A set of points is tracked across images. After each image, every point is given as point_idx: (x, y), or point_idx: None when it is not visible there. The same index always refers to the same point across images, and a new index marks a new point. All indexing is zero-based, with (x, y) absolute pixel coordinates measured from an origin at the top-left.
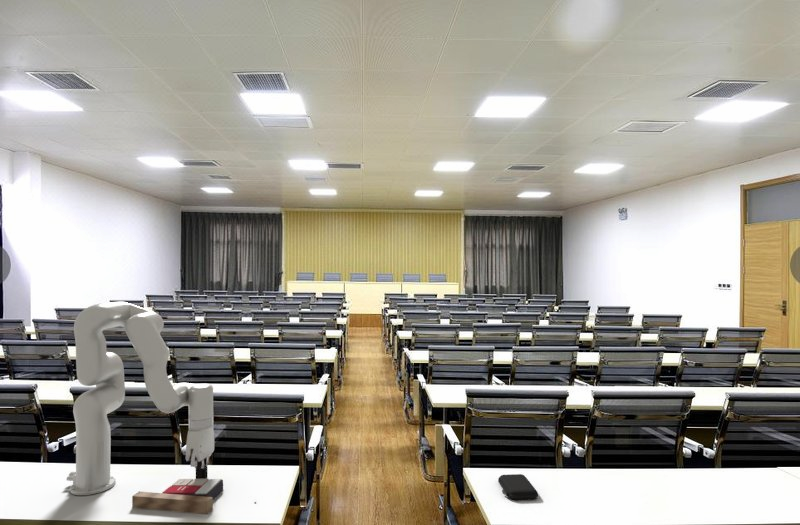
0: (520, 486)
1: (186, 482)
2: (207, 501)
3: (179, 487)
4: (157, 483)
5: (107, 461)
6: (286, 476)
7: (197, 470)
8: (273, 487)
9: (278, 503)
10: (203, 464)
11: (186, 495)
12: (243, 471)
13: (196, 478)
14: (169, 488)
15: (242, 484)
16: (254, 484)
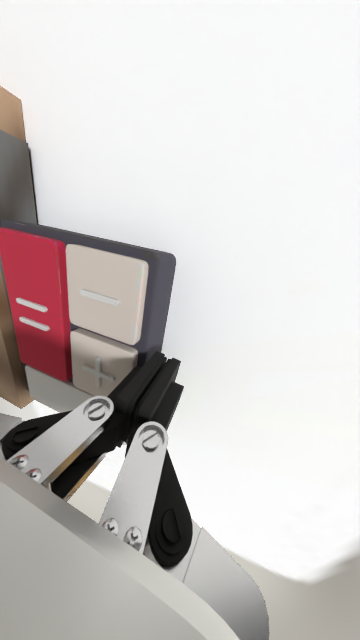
0: None
1: (93, 320)
2: (1, 396)
3: (45, 299)
4: (283, 12)
5: None
6: (221, 541)
7: (110, 397)
8: None
9: (95, 480)
10: (82, 466)
11: (1, 342)
12: (310, 490)
13: (153, 356)
14: (30, 249)
15: (184, 459)
16: (181, 479)
